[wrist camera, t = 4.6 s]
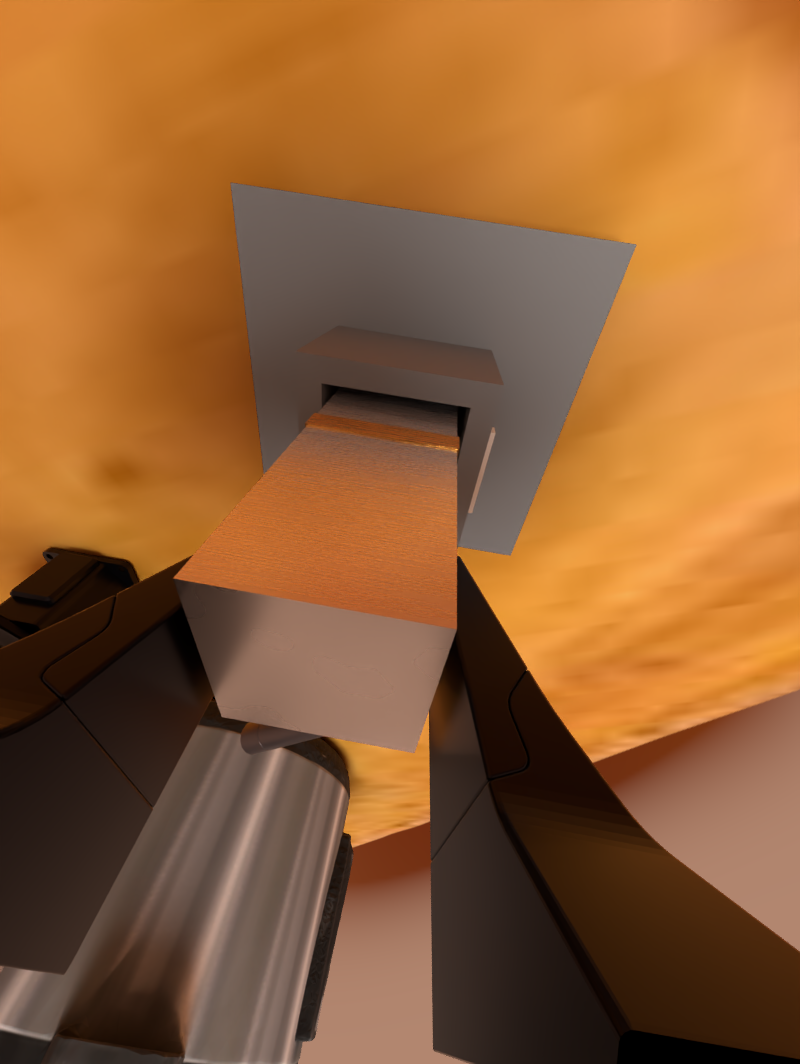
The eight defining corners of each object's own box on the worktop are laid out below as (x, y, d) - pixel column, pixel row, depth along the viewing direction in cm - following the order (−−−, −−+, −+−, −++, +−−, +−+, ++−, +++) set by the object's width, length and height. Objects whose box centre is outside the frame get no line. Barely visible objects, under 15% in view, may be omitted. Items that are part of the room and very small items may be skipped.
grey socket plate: (507, 539, 22) (522, 626, 17) (278, 499, 22) (225, 572, 17) (620, 245, 14) (719, 240, 8) (249, 188, 14) (128, 150, 9)
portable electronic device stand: (332, 684, 35) (303, 786, 28) (270, 636, 31) (219, 739, 25) (408, 658, 31) (395, 769, 24) (346, 600, 27) (310, 711, 21)
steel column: (436, 505, 15) (416, 754, 8) (337, 488, 15) (220, 717, 8) (459, 404, 12) (461, 627, 5) (339, 384, 13) (168, 575, 5)
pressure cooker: (254, 802, 58) (100, 1218, 33) (88, 715, 46) (-361, 1277, 21) (414, 783, 46) (363, 1424, 21) (247, 656, 33) (-393, 1886, 8)
